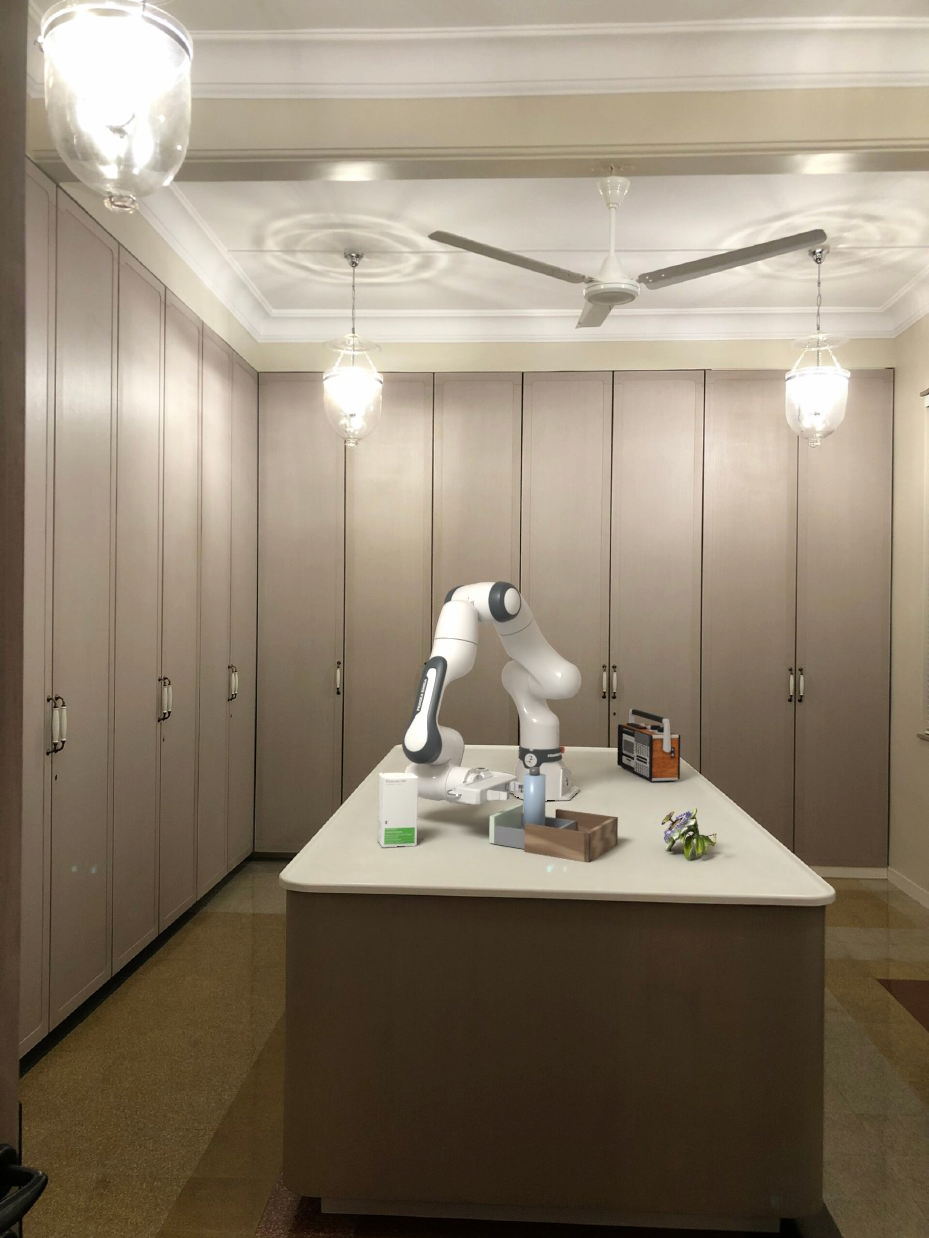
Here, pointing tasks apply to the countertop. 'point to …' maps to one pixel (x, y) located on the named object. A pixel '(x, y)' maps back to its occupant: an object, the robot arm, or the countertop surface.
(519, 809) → the drawer
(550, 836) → the brown open box
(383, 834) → the skincare box
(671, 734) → the radio cassette player
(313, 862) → the countertop surface
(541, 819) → the lotion bottle
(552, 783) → the robot arm
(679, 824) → the passion flower
